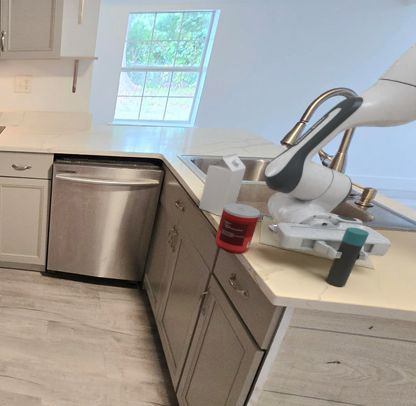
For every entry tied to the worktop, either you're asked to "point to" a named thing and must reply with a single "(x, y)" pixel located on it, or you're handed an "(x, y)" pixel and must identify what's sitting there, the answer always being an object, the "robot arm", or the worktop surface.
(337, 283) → the marker
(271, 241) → the paper pad
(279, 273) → the worktop surface
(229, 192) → the milk carton
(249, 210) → the canned food
